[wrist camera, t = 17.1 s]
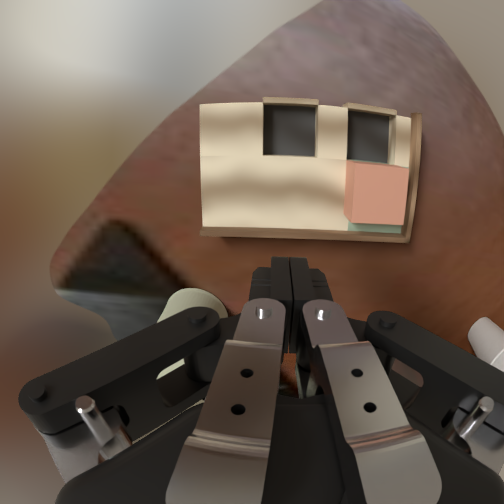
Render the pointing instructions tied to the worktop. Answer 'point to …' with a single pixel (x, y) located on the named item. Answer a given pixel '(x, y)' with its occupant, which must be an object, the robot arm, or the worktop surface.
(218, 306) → the can
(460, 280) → the worktop surface
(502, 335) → the dixie cup
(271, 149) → the board
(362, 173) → the salmon pink square block
